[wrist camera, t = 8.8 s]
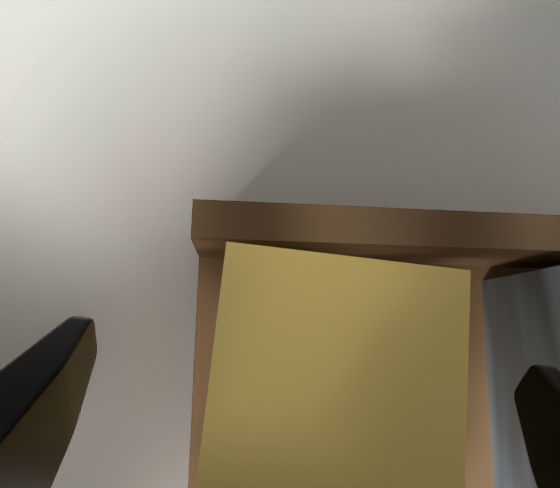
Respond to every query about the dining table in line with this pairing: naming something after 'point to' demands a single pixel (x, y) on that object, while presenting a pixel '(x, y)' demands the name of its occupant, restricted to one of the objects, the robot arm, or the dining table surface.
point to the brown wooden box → (426, 251)
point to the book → (336, 373)
